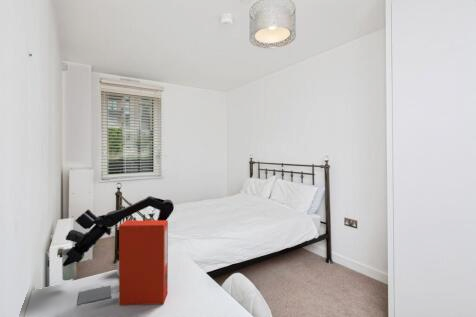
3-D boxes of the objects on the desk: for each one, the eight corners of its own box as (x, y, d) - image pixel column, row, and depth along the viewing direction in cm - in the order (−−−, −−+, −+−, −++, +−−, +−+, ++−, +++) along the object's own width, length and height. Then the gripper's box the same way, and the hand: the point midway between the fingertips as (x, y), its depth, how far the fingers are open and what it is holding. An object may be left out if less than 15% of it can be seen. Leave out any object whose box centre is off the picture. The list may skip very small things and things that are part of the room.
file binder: (126, 294, 110) (126, 220, 108) (167, 293, 111) (167, 220, 110) (119, 305, 102) (118, 225, 100) (163, 304, 103) (163, 225, 102)
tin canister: (76, 273, 116) (76, 247, 115) (75, 278, 111) (75, 251, 111) (63, 276, 113) (62, 249, 113) (61, 281, 109) (60, 253, 108)
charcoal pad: (110, 286, 116) (110, 285, 116) (111, 297, 107) (111, 296, 107) (79, 293, 110) (79, 291, 110) (77, 305, 101) (77, 304, 101)
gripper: (85, 218, 121) (58, 243, 119) (71, 230, 103) (40, 260, 101) (103, 233, 124) (78, 258, 121) (93, 247, 106) (63, 277, 103)
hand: (65, 262), depth 111 cm, fingers closed on tin canister, 5 cm apart
